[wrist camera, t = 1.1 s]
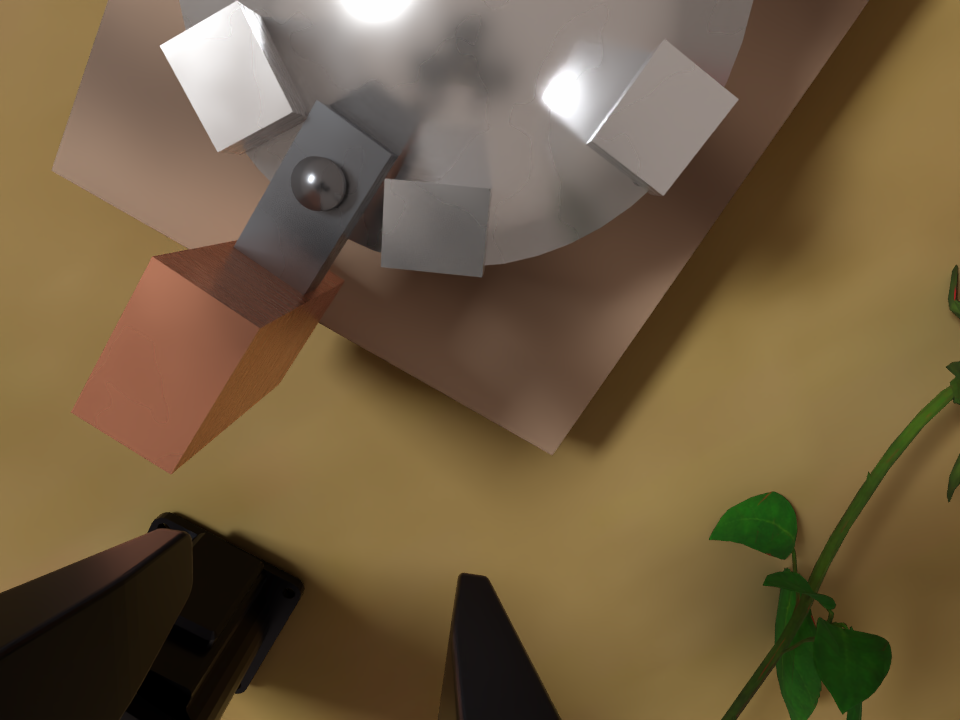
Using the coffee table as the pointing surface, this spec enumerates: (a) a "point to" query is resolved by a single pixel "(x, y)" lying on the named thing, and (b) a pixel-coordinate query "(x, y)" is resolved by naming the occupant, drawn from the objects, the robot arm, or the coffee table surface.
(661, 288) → the square disc baseplate
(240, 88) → the round disc with cubes
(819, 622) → the flower
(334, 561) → the coffee table surface
